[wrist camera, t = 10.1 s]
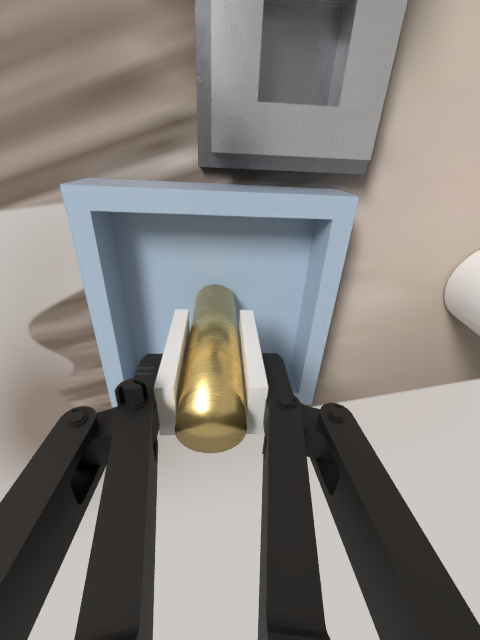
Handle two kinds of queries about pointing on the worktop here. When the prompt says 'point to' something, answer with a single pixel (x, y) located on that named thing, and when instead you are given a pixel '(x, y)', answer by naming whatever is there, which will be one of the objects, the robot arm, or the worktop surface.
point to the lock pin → (212, 377)
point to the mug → (465, 292)
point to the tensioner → (293, 82)
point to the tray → (209, 264)
